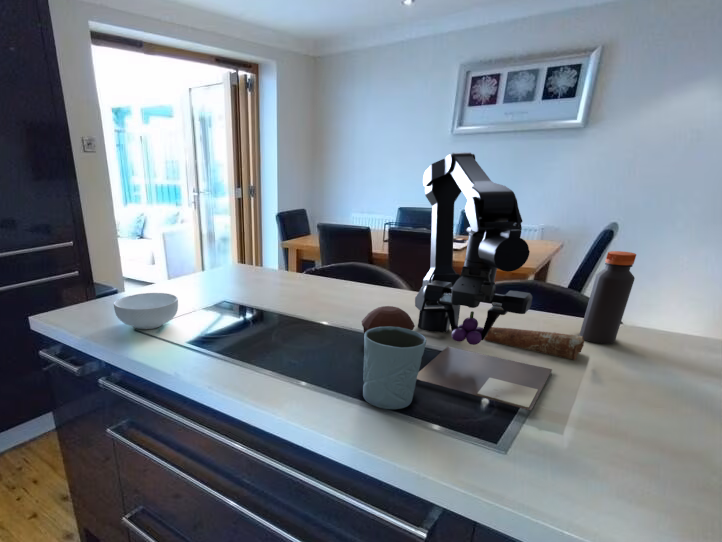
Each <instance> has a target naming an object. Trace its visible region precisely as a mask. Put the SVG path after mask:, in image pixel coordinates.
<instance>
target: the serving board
mask: <svg viewBox="0 0 722 542" xmlns="http://www.w3.org/2000/svg"><path fill="white" fill-rule="evenodd" d="M552 371H553V369H552V368H547V367H544V366H543V367H542V366H538V365H534V364H529V363H524V362H522V361H521V362H520V361H515V360H511V359H506V358H502V357H497V356H493V355H489V354H484V353H480V352H475V351H470V350H465V349H461V348H456V347H452V346H446V347H445V348H444V349H443V350H442V351H441V352H440V353H439V354H437V355H436V356H435V357H433V359H432V360H430V362H429V363H427V364H426V365H425V366H424V367H423V368H421V370H419V372H418V375H417V381H421V382H424V383H428V384H432V385H434V386H435V385H436V386H439V387H443V388H446V389H450V390H454V391H457V392H461V393H465V394H469V395H472V396H476V397H479V398H483V399H486V400H490V401H494V402H498V403H501V404H505V405H508V406H513V407H516V408H520V409H524V410H527V411H532V410H533V408H534V406H535V404H536V402H537V400H538V398H539V397H540V394H541V393H542V390H543V388H544V386H545V385H546V383H547V381H548V379H549V377H550V375H551V373H552Z"/></svg>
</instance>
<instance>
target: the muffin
mask: <svg viewBox="0 0 722 542" xmlns="http://www.w3.org/2000/svg"><path fill="white" fill-rule="evenodd" d="M361 326H362V328H363V335H364V334H365V332H366V331H367V330H369V329H372V328H376V327H400V328H405V329H409V330H413V331H414V328H415V327H416V325H415V323H414V321H413V320H412V318H411V316H410V315H409V313H407V312H406V310H405V311H404V310H403V309H402V308H400V307H397V306H393V305H392V306H391V305H384V306H379V307H376V308H374V309H373V310H371V311H370V312H368V313H367V315H365V316H364V317H363V319H362V320H361Z"/></svg>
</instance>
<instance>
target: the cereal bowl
mask: <svg viewBox="0 0 722 542" xmlns="http://www.w3.org/2000/svg"><path fill="white" fill-rule="evenodd" d="M113 309H114V313H115V316H116V317H117V319H118V320H119V321H120V322H121V323H123V324H124V325H127V326H131V327H133V328H135V329H137V330H153V329H158V328H160V327H162V326H163V325H164V324H166V323H168V322H170V321H172V320H173V318H175V316H176V315H177V313H178V310H179V299H178V297H177V295H175V294H172V293H165V292H145V293H137V294H131V295H127V296H123V297H120V298H118V299H116V300H115V301H114V302H113Z"/></svg>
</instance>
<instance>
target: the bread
mask: <svg viewBox="0 0 722 542" xmlns="http://www.w3.org/2000/svg"><path fill="white" fill-rule="evenodd" d="M483 341H487V342H490V343H491V342H492V343H496V344H501V345H505V346H509V347H514V348H519V349H523V350H528V351H531V352H537V353H540V354H541V353H542V354H546V355H550V356H555V357H558V358H562V359H567V360H573V361H576V360H577V358H578V354H580V353H581V352H582V350H583V347H584V346H585V345H584V344H585V340H584V337H583V336H580V335H576V334H567V333H559V332H550V331H541V330H533V329H532V330H531V329H520V328H510V327H497V326H492V327H491V329H490V331H489V332H488V334H487V335H486V337H485V339H484V340H483Z"/></svg>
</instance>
